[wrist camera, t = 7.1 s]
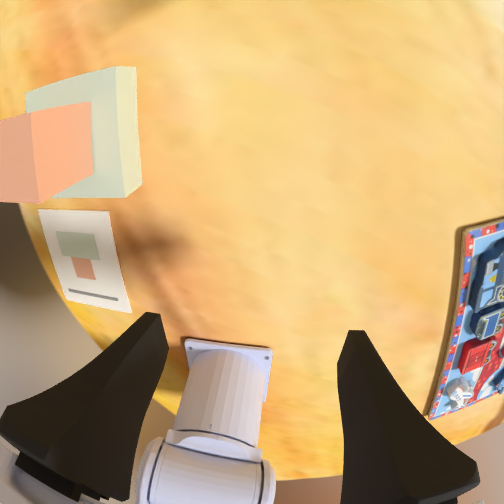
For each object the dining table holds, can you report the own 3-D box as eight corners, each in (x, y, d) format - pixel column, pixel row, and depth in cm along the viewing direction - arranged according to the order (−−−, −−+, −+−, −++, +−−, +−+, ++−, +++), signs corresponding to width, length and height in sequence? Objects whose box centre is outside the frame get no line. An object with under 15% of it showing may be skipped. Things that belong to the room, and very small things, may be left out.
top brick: (94, 173, 16) (40, 203, 11) (45, 174, 16) (-6, 201, 12) (90, 101, 13) (30, 112, 9) (41, 110, 14) (-16, 125, 9)
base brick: (145, 181, 19) (125, 197, 16) (62, 184, 20) (39, 198, 17) (139, 67, 15) (115, 66, 12) (51, 88, 15) (25, 93, 13)
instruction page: (131, 311, 25) (130, 314, 25) (67, 298, 26) (66, 300, 25) (108, 210, 20) (106, 212, 20) (39, 208, 20) (37, 210, 20)
